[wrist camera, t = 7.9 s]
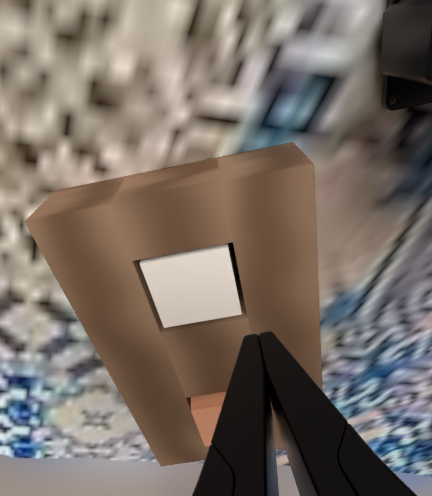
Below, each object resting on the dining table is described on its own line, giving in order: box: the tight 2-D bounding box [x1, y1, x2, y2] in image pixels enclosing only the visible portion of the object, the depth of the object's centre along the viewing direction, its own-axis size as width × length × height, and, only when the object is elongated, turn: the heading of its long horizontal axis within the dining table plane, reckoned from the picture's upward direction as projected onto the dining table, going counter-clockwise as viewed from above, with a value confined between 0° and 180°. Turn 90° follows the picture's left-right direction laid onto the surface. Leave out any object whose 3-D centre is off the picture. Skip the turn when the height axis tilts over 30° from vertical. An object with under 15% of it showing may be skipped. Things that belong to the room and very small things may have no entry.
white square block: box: [140, 243, 242, 328], centre depth 20 cm, size 5×5×4 cm
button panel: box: [25, 142, 322, 466], centre depth 24 cm, size 14×24×4 cm, turn 11°
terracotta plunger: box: [191, 391, 226, 447], centre depth 26 cm, size 5×5×4 cm
